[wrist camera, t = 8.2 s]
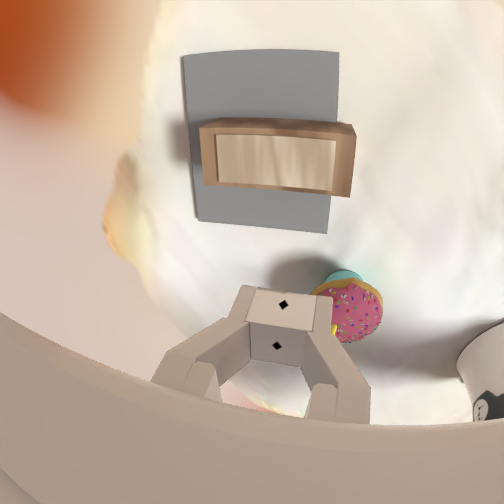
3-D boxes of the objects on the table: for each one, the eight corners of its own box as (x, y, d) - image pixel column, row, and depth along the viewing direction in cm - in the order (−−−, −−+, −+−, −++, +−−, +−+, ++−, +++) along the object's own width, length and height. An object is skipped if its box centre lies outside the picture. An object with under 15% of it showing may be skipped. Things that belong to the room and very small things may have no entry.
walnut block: (356, 136, 19) (197, 128, 22) (350, 199, 22) (202, 186, 25) (351, 124, 24) (219, 117, 26) (346, 176, 27) (222, 166, 29)
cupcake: (303, 304, 38) (289, 385, 28) (315, 249, 33) (305, 333, 23) (367, 314, 36) (370, 396, 27) (389, 262, 31) (404, 347, 22)
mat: (338, 53, 21) (339, 52, 20) (326, 231, 31) (326, 233, 30) (186, 55, 24) (183, 55, 23) (200, 218, 34) (198, 221, 33)
